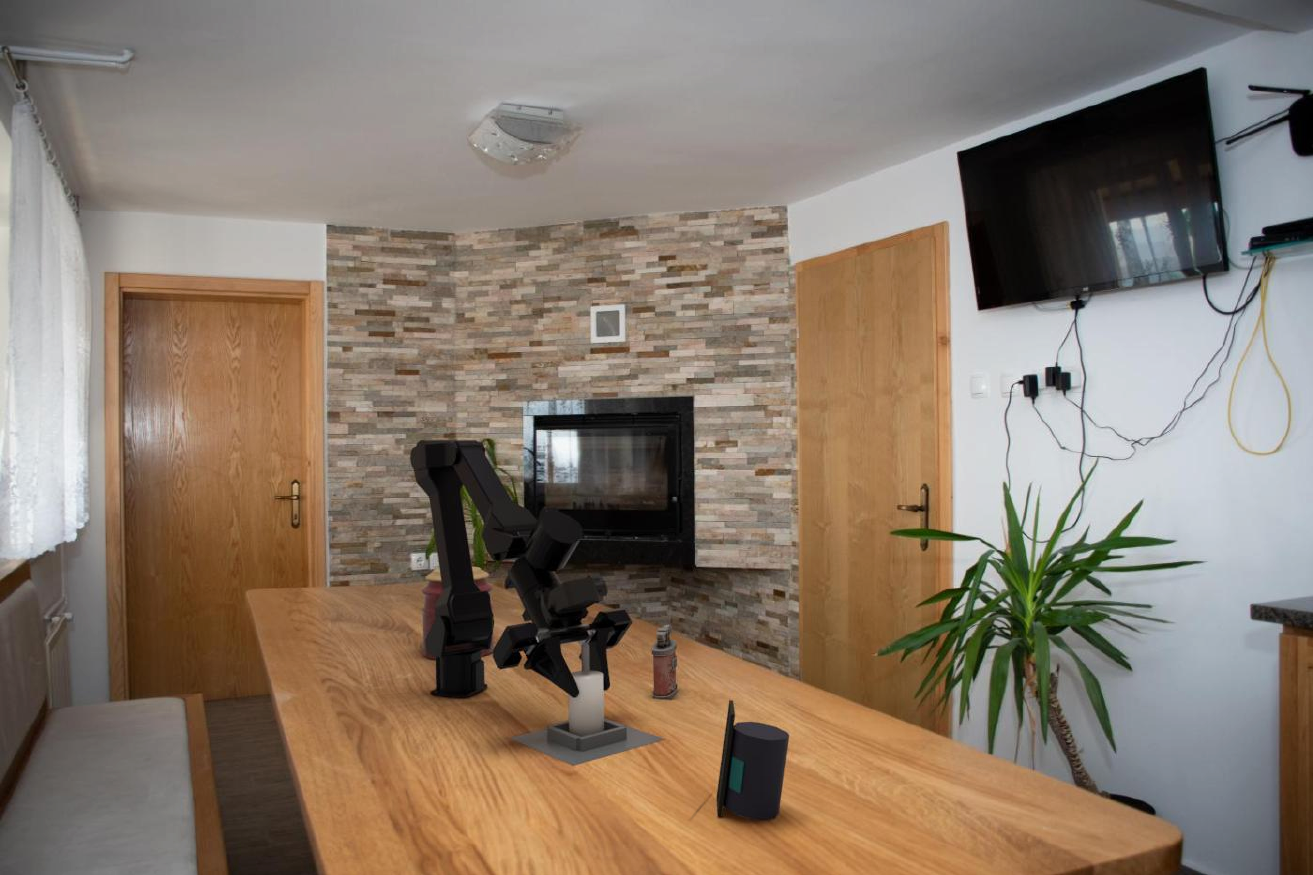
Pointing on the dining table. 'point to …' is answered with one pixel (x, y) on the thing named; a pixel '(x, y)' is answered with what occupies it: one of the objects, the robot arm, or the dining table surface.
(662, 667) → the lighter
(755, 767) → the speaker
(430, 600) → the canister
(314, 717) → the dining table surface
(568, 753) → the dock
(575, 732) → the plug
